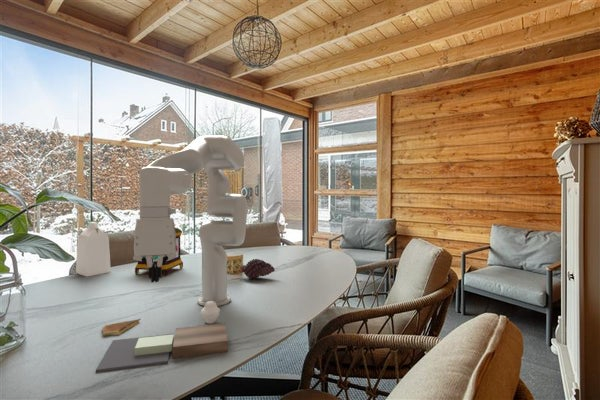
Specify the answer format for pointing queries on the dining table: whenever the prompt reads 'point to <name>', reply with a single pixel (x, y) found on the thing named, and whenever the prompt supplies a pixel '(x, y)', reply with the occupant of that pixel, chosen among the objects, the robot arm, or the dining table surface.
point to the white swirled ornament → (210, 312)
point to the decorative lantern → (168, 263)
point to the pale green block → (154, 344)
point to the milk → (93, 251)
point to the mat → (128, 356)
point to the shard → (118, 327)
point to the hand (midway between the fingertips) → (155, 280)
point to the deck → (200, 340)
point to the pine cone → (257, 268)
